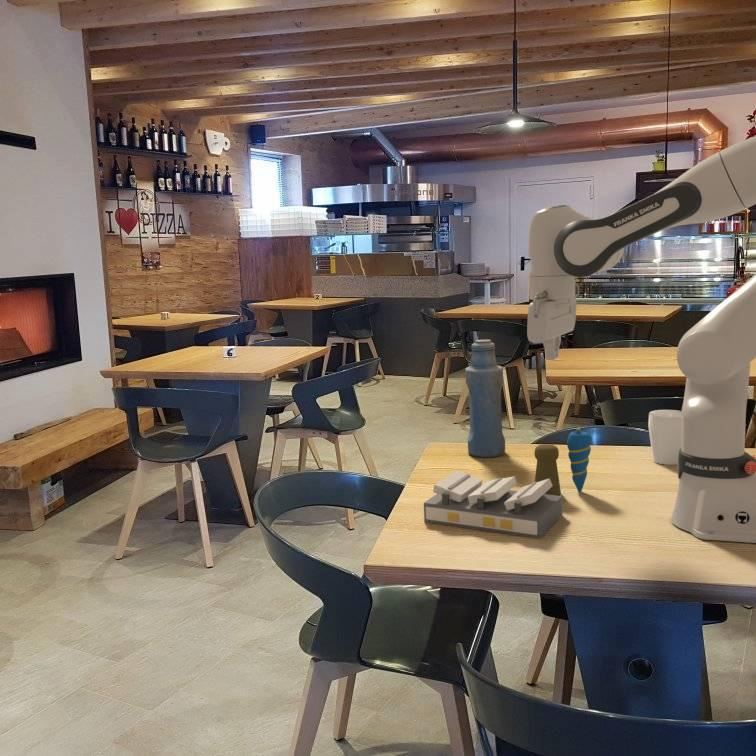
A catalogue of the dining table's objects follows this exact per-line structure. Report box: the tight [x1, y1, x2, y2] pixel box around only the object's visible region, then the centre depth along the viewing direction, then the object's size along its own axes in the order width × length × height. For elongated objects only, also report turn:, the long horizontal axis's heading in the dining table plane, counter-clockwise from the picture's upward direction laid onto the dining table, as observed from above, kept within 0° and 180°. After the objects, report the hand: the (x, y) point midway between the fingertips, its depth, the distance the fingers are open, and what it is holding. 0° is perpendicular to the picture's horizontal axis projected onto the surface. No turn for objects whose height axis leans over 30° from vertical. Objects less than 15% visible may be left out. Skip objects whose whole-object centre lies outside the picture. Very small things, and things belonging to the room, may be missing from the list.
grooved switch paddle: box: [432, 470, 484, 502], centre depth 163 cm, size 6×11×2 cm, turn 151°
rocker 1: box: [468, 475, 517, 504], centre depth 160 cm, size 6×11×2 cm, turn 150°
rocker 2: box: [504, 478, 553, 511], centre depth 156 cm, size 6×11×2 cm, turn 150°
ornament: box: [566, 425, 592, 493], centre depth 174 cm, size 5×5×15 cm
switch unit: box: [423, 489, 563, 540], centre depth 160 cm, size 24×14×6 cm, turn 60°
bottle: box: [464, 339, 506, 459], centre depth 207 cm, size 10×10×30 cm
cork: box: [533, 443, 562, 496], centre depth 173 cm, size 6×6×11 cm
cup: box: [647, 409, 682, 466], centre depth 194 cm, size 9×9×12 cm
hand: (552, 359), depth 160 cm, fingers closed
